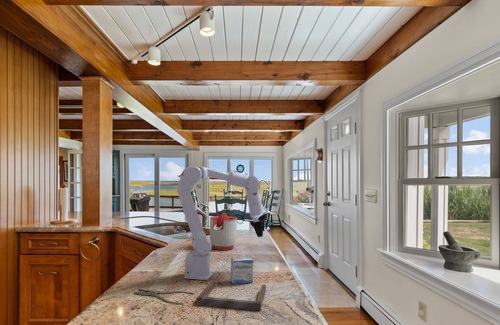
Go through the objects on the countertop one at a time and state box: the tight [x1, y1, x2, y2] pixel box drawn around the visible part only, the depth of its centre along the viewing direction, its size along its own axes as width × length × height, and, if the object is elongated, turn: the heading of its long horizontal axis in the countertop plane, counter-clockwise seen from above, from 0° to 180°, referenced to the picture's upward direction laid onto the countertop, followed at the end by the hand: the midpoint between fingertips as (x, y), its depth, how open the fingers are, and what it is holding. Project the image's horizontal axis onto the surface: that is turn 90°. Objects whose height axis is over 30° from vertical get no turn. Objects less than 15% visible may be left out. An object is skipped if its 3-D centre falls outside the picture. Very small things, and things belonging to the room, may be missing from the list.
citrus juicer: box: [209, 212, 238, 251], centre depth 165 cm, size 16×17×20 cm
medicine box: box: [230, 257, 254, 285], centre depth 113 cm, size 8×4×9 cm, turn 105°
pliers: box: [133, 288, 195, 306], centre depth 96 cm, size 10×1×20 cm
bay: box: [196, 280, 267, 311], centre depth 98 cm, size 20×16×2 cm
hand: (261, 233), depth 127 cm, fingers open, 7 cm apart
